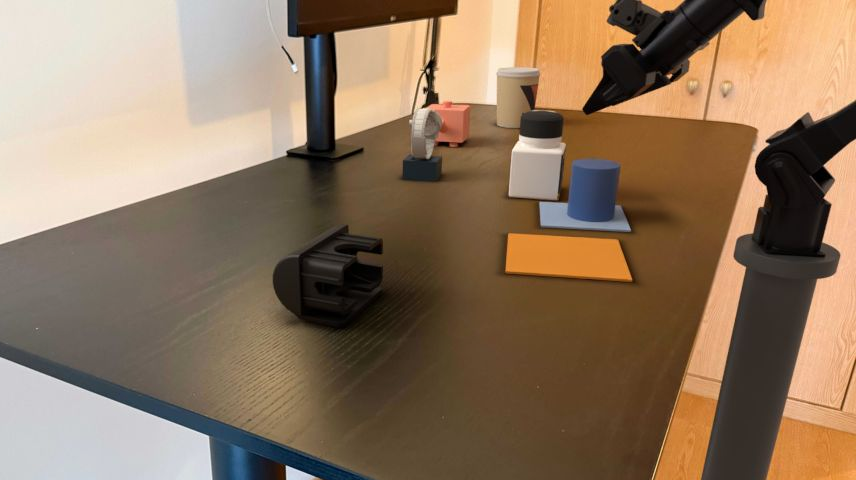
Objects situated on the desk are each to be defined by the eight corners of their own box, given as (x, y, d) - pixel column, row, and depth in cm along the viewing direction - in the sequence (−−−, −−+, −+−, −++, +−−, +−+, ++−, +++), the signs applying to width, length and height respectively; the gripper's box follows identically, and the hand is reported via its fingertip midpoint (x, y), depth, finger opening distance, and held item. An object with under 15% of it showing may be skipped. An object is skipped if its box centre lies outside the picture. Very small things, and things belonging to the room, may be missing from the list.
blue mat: (620, 207, 99) (620, 205, 99) (630, 232, 89) (631, 230, 89) (539, 203, 101) (539, 201, 101) (540, 227, 91) (540, 225, 91)
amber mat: (617, 241, 86) (618, 239, 86) (632, 282, 74) (632, 279, 74) (508, 235, 89) (508, 233, 88) (505, 273, 77) (505, 270, 77)
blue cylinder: (611, 210, 97) (618, 159, 94) (616, 223, 92) (623, 169, 89) (565, 207, 98) (571, 157, 96) (568, 220, 93) (573, 168, 90)
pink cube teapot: (418, 149, 136) (419, 105, 133) (433, 137, 147) (434, 96, 144) (458, 151, 134) (460, 106, 131) (470, 139, 144) (472, 97, 141)
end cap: (323, 281, 75) (321, 220, 73) (384, 292, 73) (385, 228, 70) (273, 317, 67) (269, 250, 65) (340, 331, 64) (338, 262, 62)
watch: (443, 172, 119) (446, 105, 115) (433, 184, 112) (435, 113, 108) (411, 170, 121) (412, 104, 116) (399, 181, 114) (400, 112, 109)
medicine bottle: (558, 201, 102) (566, 117, 98) (508, 197, 104) (514, 114, 100) (561, 189, 108) (569, 109, 104) (514, 185, 111) (520, 107, 106)
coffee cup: (526, 130, 153) (531, 72, 148) (486, 126, 157) (489, 70, 153) (541, 123, 160) (546, 68, 155) (502, 120, 164) (506, 66, 160)
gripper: (677, -28, 94) (587, 57, 104) (627, -29, 80) (530, 68, 91) (732, 36, 92) (635, 115, 103) (690, 45, 79) (584, 136, 89)
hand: (597, 107), depth 96 cm, fingers open, 9 cm apart
